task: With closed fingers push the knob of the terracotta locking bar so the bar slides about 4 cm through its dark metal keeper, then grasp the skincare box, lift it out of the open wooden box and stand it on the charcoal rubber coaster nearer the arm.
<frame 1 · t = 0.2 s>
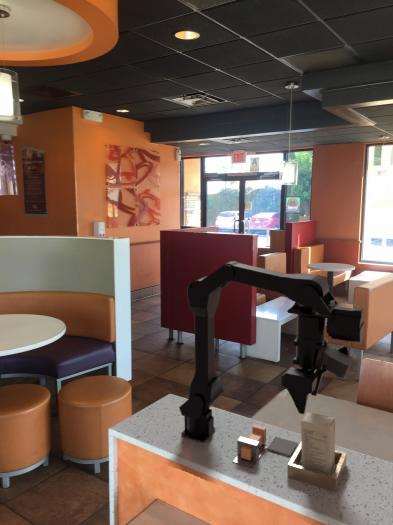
hand: (308, 404, 96), 14 cm above the table, fingers open, 9 cm apart
coaster: (282, 447, 105), on the table
keeper: (248, 457, 101), on the table
skincare box: (317, 472, 96), resting in open wooden box
open wooden box: (317, 471, 96), on the table
lock bar: (253, 441, 103), point 2 cm above the table, slide at 0.0 cm
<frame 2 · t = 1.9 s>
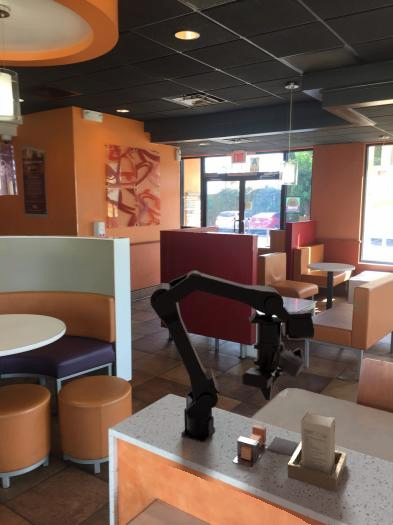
hand: (267, 399, 110), 8 cm above the table, fingers closed
nothing on the table moved.
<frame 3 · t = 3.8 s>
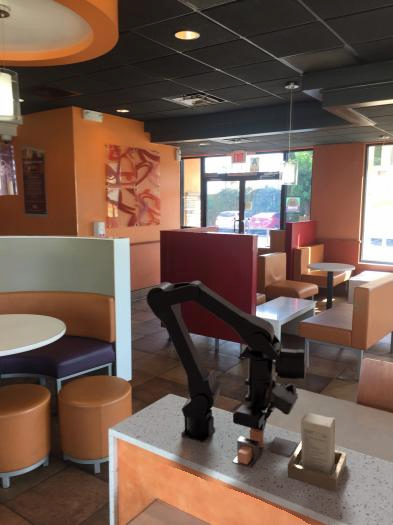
hand: (259, 435, 107), 1 cm above the table, fingers closed
lock bar: (250, 445, 101), point 2 cm above the table, slide at 1.7 cm, touching gripper
everything else where it was.
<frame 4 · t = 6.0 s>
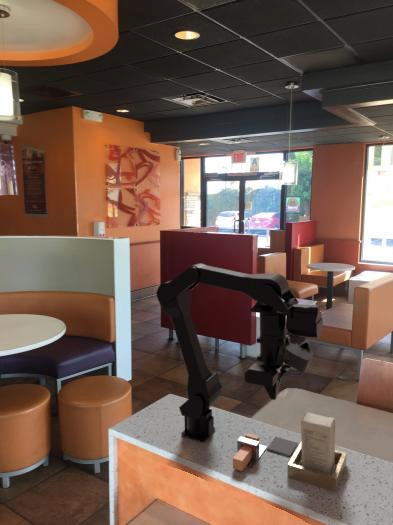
hand: (273, 398, 100), 13 cm above the table, fingers closed
lock bar: (245, 451, 99), point 2 cm above the table, slide at 4.3 cm
everything else where it was.
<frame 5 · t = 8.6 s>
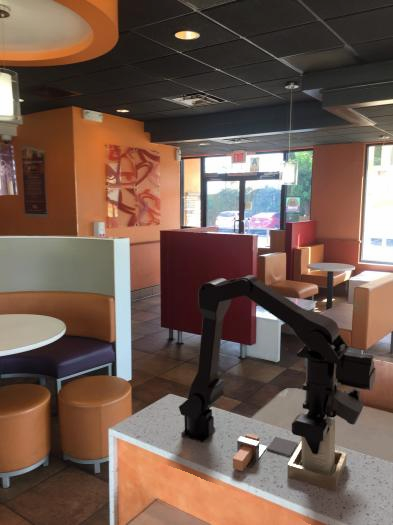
hand: (318, 447, 95), 6 cm above the table, fingers closed on skincare box, 4 cm apart
skincare box: (317, 472, 96), resting in open wooden box, touching gripper
everything else where it was.
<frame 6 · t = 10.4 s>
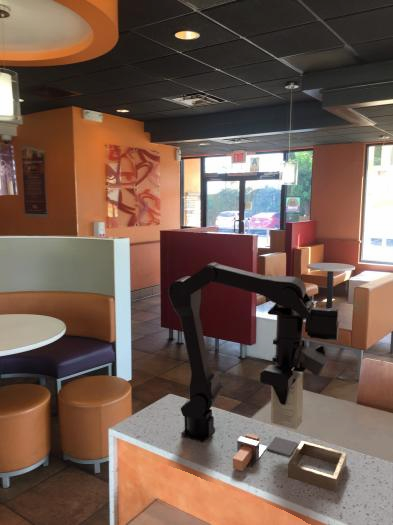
hand: (286, 400, 101), 13 cm above the table, fingers closed on skincare box, 4 cm apart
skincare box: (285, 423, 102), point 7 cm above the table, touching gripper
everything else where it was.
when the fingers open (7 cm above the table, at t = 11.9 s): skincare box drops 1 cm, resting on coaster.
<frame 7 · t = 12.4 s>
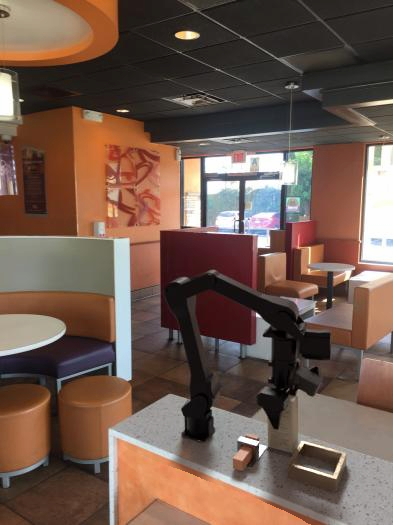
hand: (282, 419, 103), 7 cm above the table, fingers open, 9 cm apart
skincare box: (282, 446, 105), resting on coaster
everything else where it was.
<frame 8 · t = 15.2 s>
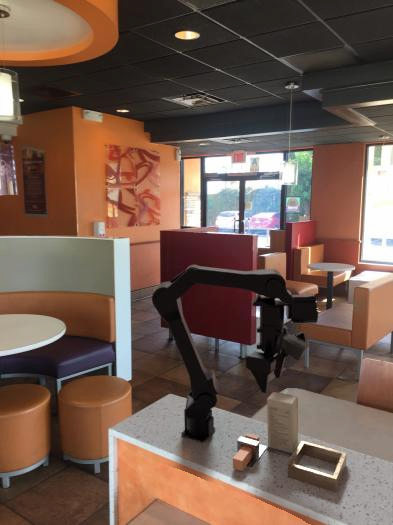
hand: (271, 384, 108), 13 cm above the table, fingers open, 9 cm apart
nothing on the table moved.
at the end: lock bar slide at 4.3 cm; skincare box inside the target area (0.0 cm from its centre), resting on coaster; skincare box tilted 0° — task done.
